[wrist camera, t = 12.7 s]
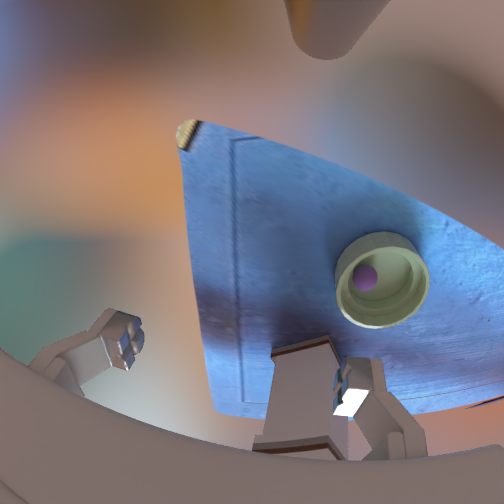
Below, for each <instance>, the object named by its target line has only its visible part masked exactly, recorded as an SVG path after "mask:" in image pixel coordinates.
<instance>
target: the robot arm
mask: <svg viewBox="0 0 504 504" xmlns="http://www.w3.org/2000/svg"><path fill="white" fill-rule="evenodd" d="M141 325H142V323H141V319H140V318H139V317H137V316H134V315H131V314H127V313H124V312H121V311H117V310H114V309H111V308H108V309H106V310H105V311H104V312H103V313H102V315H101V316H100V317H99V318H98V319H97V321H96V322H95V323H94V324H93V325H92V327H91V328H90V329H89V330H88V331H86V330H85V331H83V332H80V333H78V334H75V335H73V336H71V337H68V338H65V339H63V340H61V341H58V342H56V343H53V344H51V345H49V346H46V347H44V348H42V350H41V351H40V352H39V353H38V354H37V355H36V357H35V358H34V359H33V360H32V361H31V363H30V364H29V365H28V366H26V365H25V364H23V363H22V362H20V361H18V360H17V359H15V358H14V357H13V356H11V355H10V354H8V353H6V352H5V351H4V350H2V349H1V348H0V504H504V448H503V447H502V446H500V445H497V444H494V445H489V446H485V447H480V448H476V449H471V450H466V451H461V452H455V453H450V454H443V455H437V456H429V457H428V453H427V446H426V439H425V433H424V429H423V428H422V427H421V426H420V425H419V424H418V422H417V421H416V420H415V419H414V418H413V417H412V416H411V414H410V413H409V412H408V411H407V410H406V409H405V408H404V406H403V405H402V404H401V403H400V402H399V401H398V400H397V398H396V397H395V396H394V395H393V394H392V393H391V392H387V387H386V381H385V375H384V369H383V363H382V360H381V359H374V358H362V357H351V356H344V357H343V358H342V360H341V368H339V369H337V372H336V374H335V378H334V383H333V392H334V393H335V395H336V396H335V398H334V400H333V415H342V416H354V417H353V418H354V420H355V421H356V423H357V425H358V426H359V428H360V429H361V431H362V433H363V434H364V436H365V438H366V439H367V441H368V443H369V444H370V446H371V448H372V449H373V450H372V451H371V452H370V453H369V454H368V455H366V457H364V458H363V459H362V461H345V460H322V459H308V458H298V457H289V456H281V455H273V454H267V453H260V452H254V451H249V450H243V449H238V448H233V447H228V446H224V445H219V444H215V443H211V442H207V441H203V440H199V439H195V438H192V437H188V436H185V435H181V434H177V433H174V432H171V431H168V430H165V429H162V428H159V427H156V426H153V425H150V424H147V423H144V422H141V421H139V420H136V419H133V418H131V417H128V416H126V415H123V414H120V413H118V412H115V411H113V410H111V409H109V408H106V407H104V406H102V405H100V404H97V403H95V402H93V401H91V400H89V399H87V398H85V395H84V393H83V391H82V390H81V388H80V386H81V385H82V384H84V383H86V382H87V381H89V380H91V379H92V378H94V377H95V376H97V375H99V374H100V373H102V372H103V371H105V370H106V369H108V368H110V367H111V366H115V367H117V368H120V369H123V370H126V371H129V369H130V367H131V366H132V364H133V362H134V361H135V357H134V355H136V354H138V353H140V351H141V349H142V347H143V343H144V332H143V331H142V329H141V328H140V326H141Z"/></svg>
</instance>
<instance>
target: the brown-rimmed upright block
mask: <svg viewBox="0 0 504 504" xmlns="http://www.w3.org/2000/svg"><path fill="white" fill-rule="evenodd" d="M270 358H271V359H272V361H273V362H274V364H275V368H274V374H273V380H272V386H271V391H270V397H269V403H268V408H267V414H266V419H265V424H264V430H263V435H255V439H254V443H253V448H252V451H254V452H260V453H267V454H273V455H281V456H289V457H298V458H308V459H322V460H345V461H348V416H342V415H333V400H334V398H335V396H336V395H335V393H334V392H333V383H334V378H335V374H336V372H337V369H339V368H341V360H340V358H339V356H338V354H337V352H336V349H335V347H334V345H333V343H332V341H331V338H330V336H329V335H325V336H322V337H318V338H314V339H311V340H307V341H303V342H299V343H295V344H291V345H287V346H283V347H279V348H275V349H272V351H271V357H270Z"/></svg>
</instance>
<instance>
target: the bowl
mask: <svg viewBox="0 0 504 504" xmlns="http://www.w3.org/2000/svg"><path fill="white" fill-rule="evenodd" d="M361 265H370V266H372V267H373V268H374V269H375V270H376V272H377V275H378V280H377V283H376V285H375V286H374V288H372V289H371V290H368V291H362V290H359V289H358V288H356V287H355V285H354V283H353V279H352V277H353V273H354V271H355V270H356V268H358V267H359V266H361ZM334 277H335V286H336V297H337V304H338V306H339V308H340V310H341V312H342V314H343V315H344V316H345V317H346V318H347V319H348V320H349V321H351V322H352V323H354V324H356V325H359V326H361V327H364V328H372V329H380V328H387V327H392V326H394V325H397V324H399V323H402V322H404V321H405V320H406V319H408V318H409V317H411V316H412V315H413V314H415V313H416V311H417V310H418V309H419V308H420V307H421V305H422V304H423V303H424V301H425V298H426V296H427V294H428V292H429V284H430V276H429V272H428V268H427V265H426V264H425V262H424V260H423V259H422V257H421V255H420V254H419V252H418V251H417V249H416V248H415V247H414V245H413V244H412V243H411V241H410V240H408V239H406V238H405V237H403V236H401V235H400V234H396V233H391V232H386V231H383V232H375V233H369V234H367V235H365V236H363V237H360V238H358V239H356V240H355V241H354V242H352V243H351V244H350V245H349V246H348V247H347V248H345V250H344V251H343V253H342V254H341V256H340V258H339V259H338V261H337V264H336V268H335V272H334Z"/></svg>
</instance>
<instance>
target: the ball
mask: <svg viewBox="0 0 504 504" xmlns="http://www.w3.org/2000/svg"><path fill="white" fill-rule="evenodd" d="M352 279H353V283H354V285H355V287H356V288H358V289H359V290H362V291H368V290H371V289H372V288H374V286H375V285H376V283H377V280H378V275H377V272H376V270H375V269H374V268H373V267H372V266H370V265H361V266H359V267H358V268H356V270H355V271H354V273H353V277H352Z"/></svg>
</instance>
